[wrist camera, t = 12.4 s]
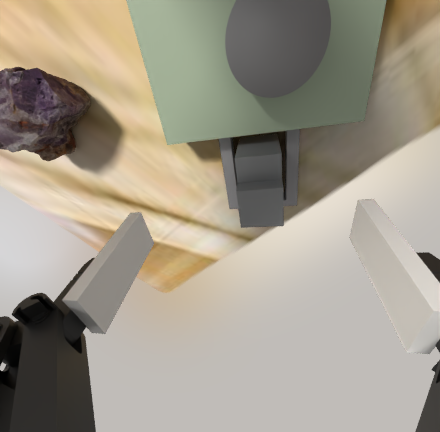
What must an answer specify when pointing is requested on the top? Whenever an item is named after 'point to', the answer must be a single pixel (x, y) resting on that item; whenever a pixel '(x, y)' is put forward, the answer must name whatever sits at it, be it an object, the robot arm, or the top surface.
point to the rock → (39, 112)
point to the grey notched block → (259, 181)
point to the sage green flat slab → (257, 69)
